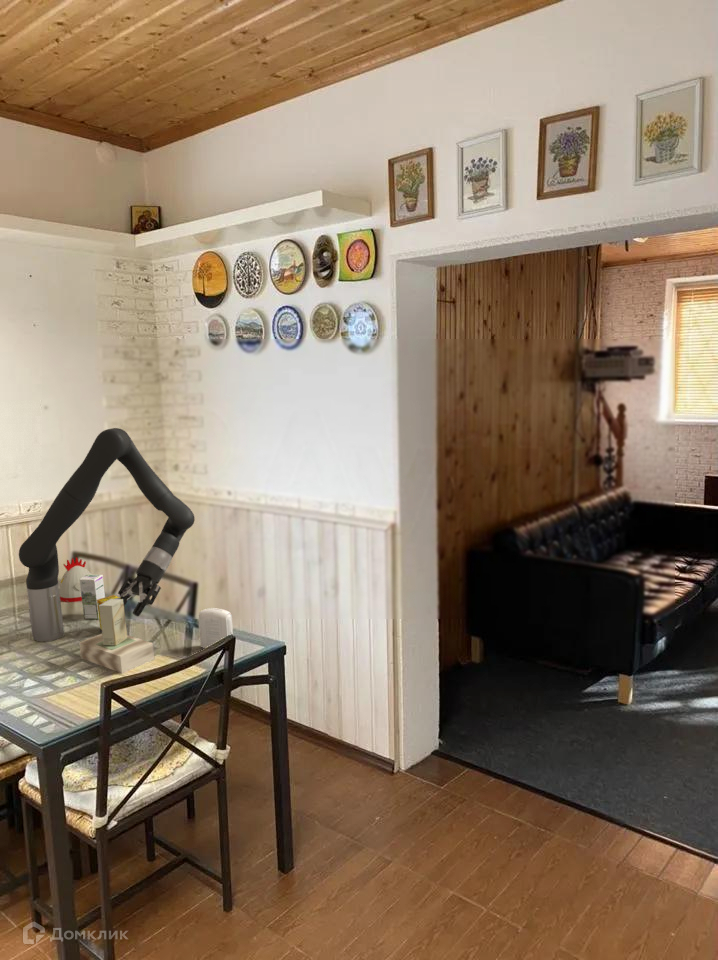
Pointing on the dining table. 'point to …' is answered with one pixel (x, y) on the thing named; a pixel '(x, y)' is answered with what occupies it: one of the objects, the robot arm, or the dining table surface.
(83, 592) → the syrup box
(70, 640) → the dining table surface
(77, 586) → the kitchen timer
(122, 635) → the skincare box
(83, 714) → the dining table surface
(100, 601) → the supplement box
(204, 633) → the photo printer
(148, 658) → the step block
